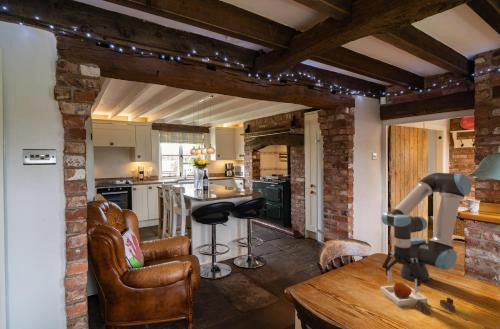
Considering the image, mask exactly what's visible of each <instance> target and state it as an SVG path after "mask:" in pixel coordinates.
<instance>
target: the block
mask: <svg viewBox="0 0 500 329" xmlns="http://www.w3.org/2000/svg"><path fill="white" fill-rule="evenodd" d="M439 305H440V306H441V307H442V308H444V309H445V310H447V311H448V312H450V313H455V312H456V306H455V305H454V299H452V298H451V297H446V299H440V300H439ZM415 307H416V308H417V311H419V312H421V313H423V314H425V315H430V314H431V308H430V306H428V305H425V304H423V302H422V301H420V300H417V302H416V306H415Z"/></svg>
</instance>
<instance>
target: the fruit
mask: <svg viewBox="0 0 500 329" xmlns="http://www.w3.org/2000/svg"><path fill="white" fill-rule="evenodd" d="M407 285H408V284H405V283H403V282H401V281H400V282H395V283H394V285H393V286H394V292H395V296H399V297H400V298H401V299H402V298H408V297H409V295H410V294H411V292H412V290H411V288H412V287H411V286H410V285H408V286H407ZM410 287H411V288H410Z"/></svg>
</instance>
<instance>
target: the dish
mask: <svg viewBox="0 0 500 329" xmlns="http://www.w3.org/2000/svg"><path fill="white" fill-rule="evenodd" d="M406 285H407V286H409V285H408V284H406ZM409 287H410V288H411V290H412V292H411V294H410V295H409V297H408V298H402V299H401V298H400V297H399V296H395V292H394V285H386V286H385V285H383V286H380V293H381V294H382V295H383V296H385V297H386V298H387V299H388V300H389V301H390V302H392V303H393V304H395V306H396V307H398V308H400V307H401V308H403V307H414V306H415V307H416V302H417V300H420V301H422V302H423V304H425V305H426V306H428V298H427V297H426V296H425V295H423V294H421V292H417V293H415V288H413V287H411V286H409Z"/></svg>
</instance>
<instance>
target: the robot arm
mask: <svg viewBox="0 0 500 329" xmlns="http://www.w3.org/2000/svg"><path fill="white" fill-rule="evenodd" d="M471 191H472V182H471V179H470V177H469V176H468V175H466V173H457V172H455V173H454V172H453V173H452V172H451V173H449V172H434V173H431V174H428V175H426V176H424V177H423V178H422V179H420V180H419V181H417V182H416V184H415V187H414V188H413V189H412V190H411V191H410V192H409V193H408V194H407V195H406V196H405V197H404V198H403V199H402V200H401V201H400V202H399V203H398V204H397V205H396V206H395V207H394V208H393V209H392V210H391V211H384V212H383V213H382V215H381V218H380V219H381V222H382V223H383V224H384V225H386V226H389V227H393V243H394V245H393V251H389V252H387V256H386V258H385V260H384V262H383V263H382V266H381V268H382V269H385V276H387V284H390V283H392V282H393V281H392V280H393V278H392V277H393V276H392V268H393V266H395V265H396V264H397V263H398V264H400V265H401V268H400V271H399V272H400V273H399V275H400V276H401V277H402V278H403V279H405V280H406V281H407V280H408V281H411V282H414V290H415V293H417V292H418V293H420V287H421V286H422V283H427V282H429V281H430V274H429V270H428V267H427V265H428V266H431V267H434V268H436V269H441V270H445V271H448V270H450V269H452V268H453V267H454V266H455V265H456V263H457V260H458V255H457V251H456V250H455V249H454V245H453V244H452V240H453V236H454V230H455V227H456V222H457V215H458V211H459V207H460V202H461V201H462V200H464V199H465V196H467V195H470V193H471ZM433 193H438V195H439V196H440V197H441V198H440V202H439V207H438V212H437V217H436V222H435V226H434V231H433V235H432V238H429V239H428V241H427V240H426V239H425V238H423V237H412V236H411V235H412V234H413V233H418V232H422V231H425V230H426V229H427V227H428V221H427V220H426V218H424V217H423V216H419V215H417V216H410V214H411V213H412V212H413V210H415V209H416V207H418V206H419V205H420V204H421V202H422V201H424V199H425V198H427V197H429V196H430V195H432V194H433ZM393 257H394V260H393V261H392V262H391V260H392V258H393ZM389 262H391V263H390V264H389Z"/></svg>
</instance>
